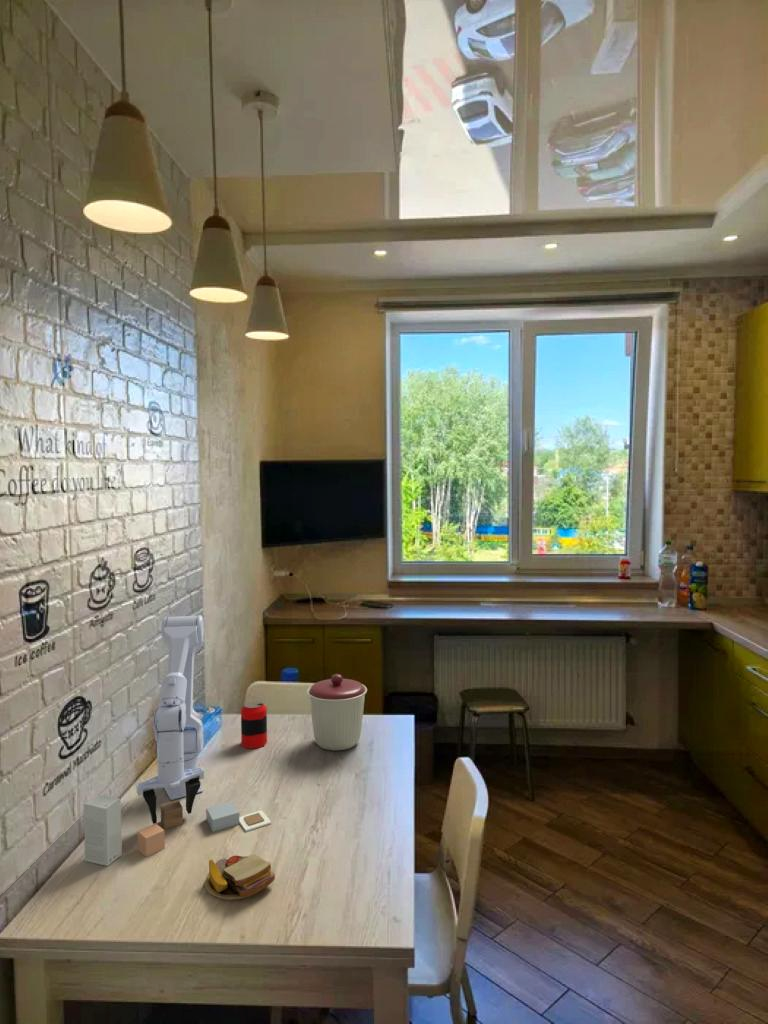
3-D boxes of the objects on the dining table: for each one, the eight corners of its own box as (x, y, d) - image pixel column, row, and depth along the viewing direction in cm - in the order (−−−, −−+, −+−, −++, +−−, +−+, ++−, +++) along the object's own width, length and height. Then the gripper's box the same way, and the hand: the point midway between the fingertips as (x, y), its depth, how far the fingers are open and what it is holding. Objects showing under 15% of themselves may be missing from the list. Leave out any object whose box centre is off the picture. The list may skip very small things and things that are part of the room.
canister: (315, 730, 188) (315, 664, 187) (371, 733, 185) (371, 666, 184) (300, 755, 170) (299, 682, 169) (361, 758, 167) (361, 685, 166)
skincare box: (122, 855, 123) (121, 798, 123) (107, 867, 119) (105, 808, 119) (100, 849, 125) (98, 793, 125) (83, 861, 121) (82, 803, 121)
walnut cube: (160, 821, 136) (160, 804, 136) (178, 816, 138) (178, 799, 138) (164, 829, 132) (164, 812, 132) (182, 824, 134) (182, 807, 134)
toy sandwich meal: (257, 854, 123) (256, 832, 123) (284, 890, 112) (283, 865, 112) (197, 876, 116) (196, 853, 116) (219, 916, 105) (218, 890, 105)
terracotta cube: (137, 849, 125) (137, 831, 125) (155, 841, 128) (155, 823, 128) (146, 857, 122) (146, 838, 122) (164, 848, 125) (164, 830, 125)
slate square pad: (206, 820, 136) (206, 807, 136) (232, 813, 139) (231, 800, 139) (213, 833, 131) (212, 819, 131) (239, 825, 134) (239, 812, 134)
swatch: (237, 819, 136) (237, 816, 136) (261, 811, 139) (261, 808, 139) (245, 831, 131) (245, 828, 131) (271, 823, 134) (271, 820, 134)
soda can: (264, 749, 174) (263, 708, 174) (238, 749, 174) (238, 709, 174) (269, 738, 182) (268, 700, 181) (245, 738, 182) (244, 700, 181)
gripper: (140, 773, 127) (141, 834, 128) (207, 756, 135) (208, 814, 136) (134, 760, 133) (135, 819, 134) (199, 745, 141) (200, 801, 142)
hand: (171, 816), depth 135 cm, fingers open, 7 cm apart
